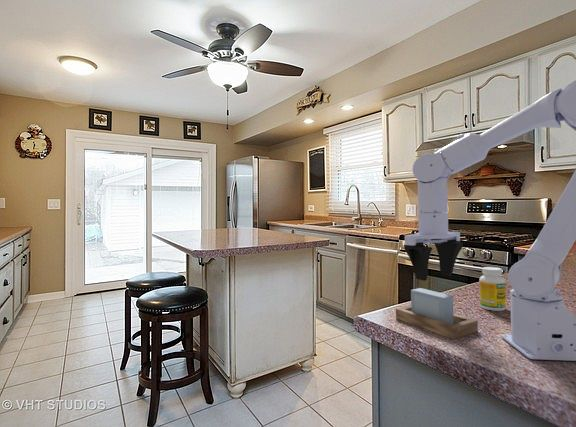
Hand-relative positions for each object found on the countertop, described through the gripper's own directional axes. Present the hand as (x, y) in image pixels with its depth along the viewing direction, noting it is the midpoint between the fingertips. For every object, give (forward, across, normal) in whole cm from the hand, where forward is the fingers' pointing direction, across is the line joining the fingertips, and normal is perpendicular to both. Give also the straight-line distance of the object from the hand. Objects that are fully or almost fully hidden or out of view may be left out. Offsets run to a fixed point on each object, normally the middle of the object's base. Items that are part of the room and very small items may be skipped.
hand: (434, 277), depth 69 cm
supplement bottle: (+10, -21, -1) cm, 23 cm away
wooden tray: (+10, 0, 0) cm, 10 cm away
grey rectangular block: (+9, 0, -1) cm, 9 cm away
